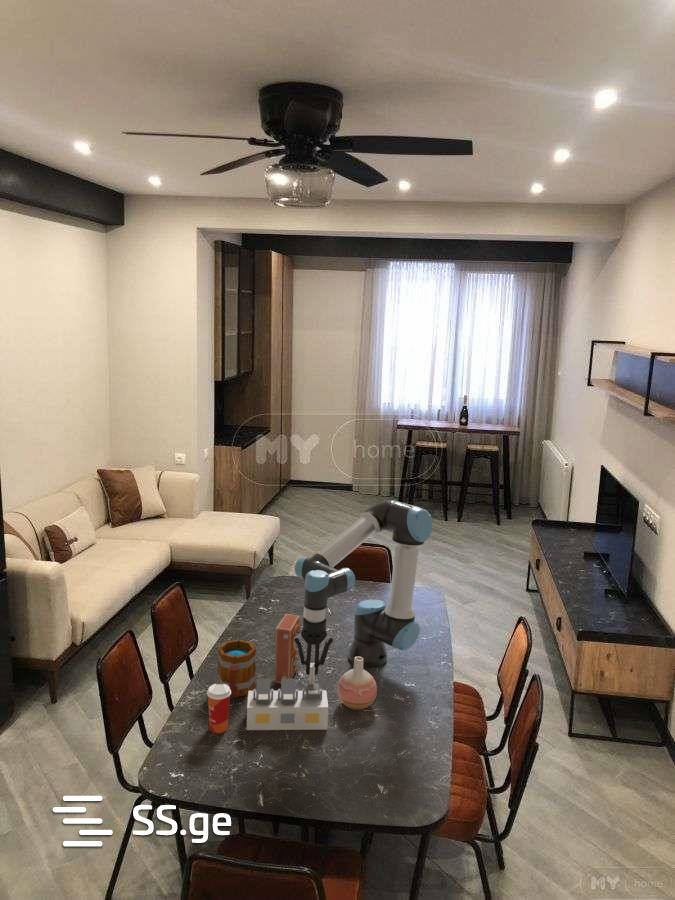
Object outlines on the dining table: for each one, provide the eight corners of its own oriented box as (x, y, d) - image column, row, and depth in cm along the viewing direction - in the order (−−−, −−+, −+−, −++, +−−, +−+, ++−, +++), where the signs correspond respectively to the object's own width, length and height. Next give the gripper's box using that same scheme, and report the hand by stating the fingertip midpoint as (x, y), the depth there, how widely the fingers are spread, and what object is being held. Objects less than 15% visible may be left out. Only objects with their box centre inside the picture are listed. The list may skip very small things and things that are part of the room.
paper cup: (207, 721, 230) (208, 682, 227) (231, 721, 231) (232, 682, 228) (205, 735, 222) (205, 695, 220) (229, 735, 223) (230, 695, 220)
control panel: (300, 666, 267) (289, 687, 253) (282, 664, 269) (271, 684, 254) (302, 614, 263) (291, 631, 248) (284, 611, 264) (272, 629, 250)
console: (325, 711, 238) (326, 681, 236) (327, 730, 228) (328, 698, 226) (248, 712, 236) (248, 681, 234) (246, 730, 226) (247, 699, 224)
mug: (220, 676, 258) (220, 638, 255) (257, 677, 258) (257, 639, 255) (211, 706, 239) (212, 666, 236) (251, 707, 239) (252, 667, 236)
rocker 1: (271, 682, 234) (271, 678, 233) (270, 704, 226) (270, 699, 225) (256, 682, 234) (256, 678, 233) (255, 704, 226) (255, 699, 225)
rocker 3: (318, 687, 236) (319, 682, 236) (320, 699, 227) (320, 693, 227) (304, 687, 235) (304, 682, 235) (305, 699, 226) (305, 693, 226)
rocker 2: (295, 681, 235) (295, 677, 234) (295, 703, 227) (295, 699, 226) (280, 682, 234) (280, 678, 233) (280, 703, 227) (280, 699, 226)
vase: (348, 720, 234) (350, 671, 231) (329, 699, 246) (331, 653, 242) (383, 711, 241) (386, 663, 237) (363, 691, 252) (366, 645, 249)
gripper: (334, 612, 234) (330, 676, 239) (294, 612, 233) (291, 676, 238) (335, 623, 227) (331, 688, 232) (294, 622, 225) (291, 688, 231)
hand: (311, 682), depth 235 cm, fingers closed
